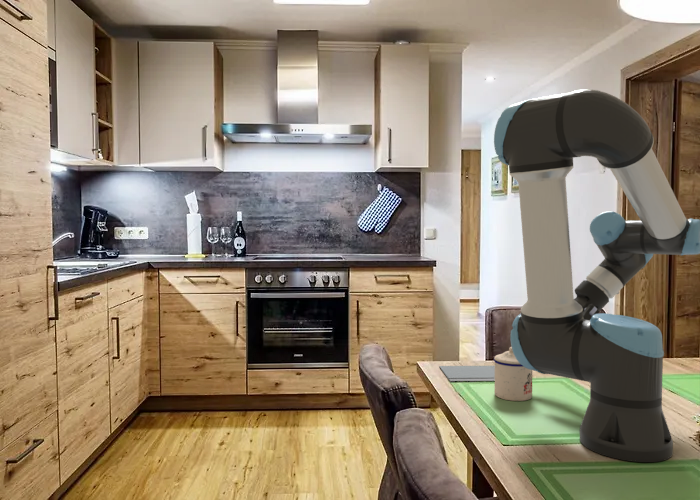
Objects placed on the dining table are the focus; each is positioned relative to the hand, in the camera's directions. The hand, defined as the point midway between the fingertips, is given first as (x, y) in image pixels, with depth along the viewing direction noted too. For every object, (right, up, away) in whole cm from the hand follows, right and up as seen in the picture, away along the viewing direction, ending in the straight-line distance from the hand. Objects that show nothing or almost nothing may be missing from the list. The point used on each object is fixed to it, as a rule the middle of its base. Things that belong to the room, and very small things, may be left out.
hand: (535, 352), depth 131 cm
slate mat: (-9, -9, +19) cm, 23 cm away
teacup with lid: (-6, -10, -1) cm, 12 cm away
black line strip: (-8, -10, +11) cm, 17 cm away
